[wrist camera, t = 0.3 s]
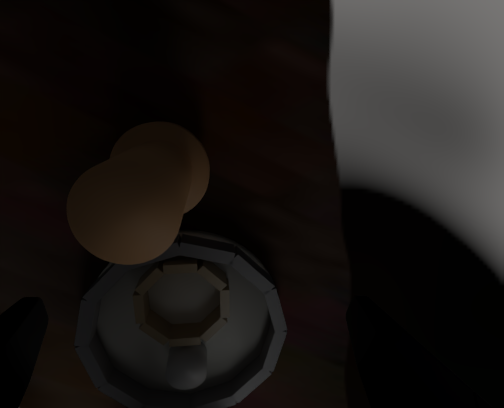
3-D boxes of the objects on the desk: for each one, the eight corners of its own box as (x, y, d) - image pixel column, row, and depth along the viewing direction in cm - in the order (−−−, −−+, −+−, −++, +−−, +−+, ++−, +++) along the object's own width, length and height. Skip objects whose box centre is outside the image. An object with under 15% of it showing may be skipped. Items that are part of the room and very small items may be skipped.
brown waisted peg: (172, 215, 25) (136, 314, 13) (109, 162, 23) (-2, 218, 11) (226, 160, 24) (240, 211, 12) (165, 101, 22) (111, 92, 10)
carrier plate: (193, 416, 31) (191, 452, 27) (47, 325, 26) (24, 356, 23) (314, 307, 29) (327, 333, 25) (180, 189, 24) (175, 201, 21)
